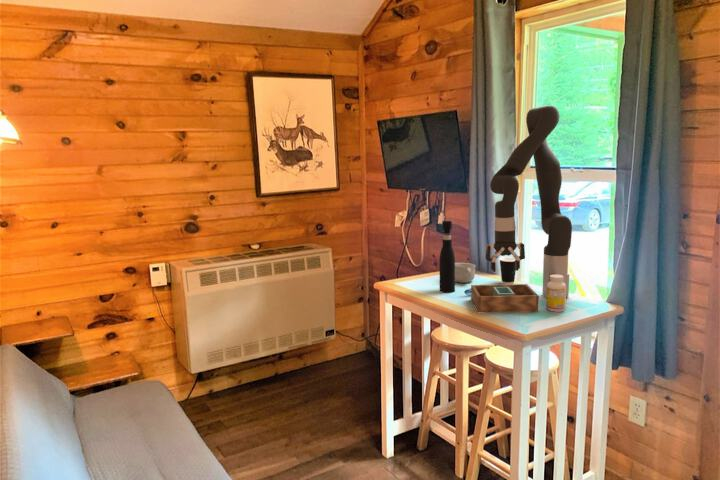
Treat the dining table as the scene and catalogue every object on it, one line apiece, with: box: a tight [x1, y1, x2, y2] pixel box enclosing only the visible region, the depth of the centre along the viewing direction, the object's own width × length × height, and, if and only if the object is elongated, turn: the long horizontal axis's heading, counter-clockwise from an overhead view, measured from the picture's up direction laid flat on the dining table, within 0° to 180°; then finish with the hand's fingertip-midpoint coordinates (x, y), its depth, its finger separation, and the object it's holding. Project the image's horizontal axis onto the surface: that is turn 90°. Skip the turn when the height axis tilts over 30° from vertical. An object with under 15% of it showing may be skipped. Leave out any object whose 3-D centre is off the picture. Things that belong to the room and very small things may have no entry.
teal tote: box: [493, 287, 515, 296], centre depth 206 cm, size 6×10×5 cm, turn 177°
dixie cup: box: [498, 256, 516, 285], centre depth 238 cm, size 8×8×11 cm
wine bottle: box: [439, 220, 456, 294], centre depth 227 cm, size 6×6×30 cm
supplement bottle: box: [546, 275, 567, 313], centre depth 199 cm, size 7×7×13 cm
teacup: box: [455, 262, 477, 284], centre depth 242 cm, size 14×11×8 cm
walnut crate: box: [470, 283, 540, 313], centre depth 207 cm, size 22×17×6 cm
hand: (505, 270), depth 204 cm, fingers open, 8 cm apart
